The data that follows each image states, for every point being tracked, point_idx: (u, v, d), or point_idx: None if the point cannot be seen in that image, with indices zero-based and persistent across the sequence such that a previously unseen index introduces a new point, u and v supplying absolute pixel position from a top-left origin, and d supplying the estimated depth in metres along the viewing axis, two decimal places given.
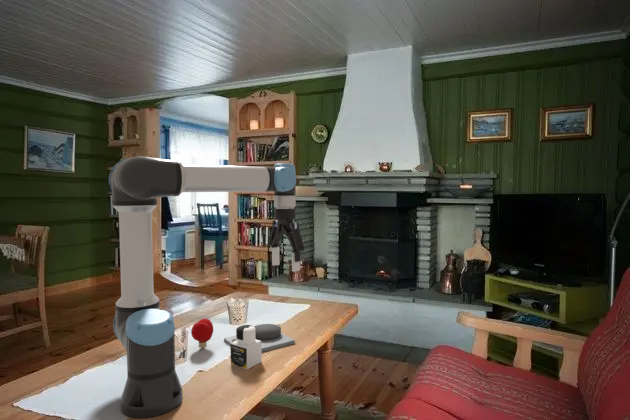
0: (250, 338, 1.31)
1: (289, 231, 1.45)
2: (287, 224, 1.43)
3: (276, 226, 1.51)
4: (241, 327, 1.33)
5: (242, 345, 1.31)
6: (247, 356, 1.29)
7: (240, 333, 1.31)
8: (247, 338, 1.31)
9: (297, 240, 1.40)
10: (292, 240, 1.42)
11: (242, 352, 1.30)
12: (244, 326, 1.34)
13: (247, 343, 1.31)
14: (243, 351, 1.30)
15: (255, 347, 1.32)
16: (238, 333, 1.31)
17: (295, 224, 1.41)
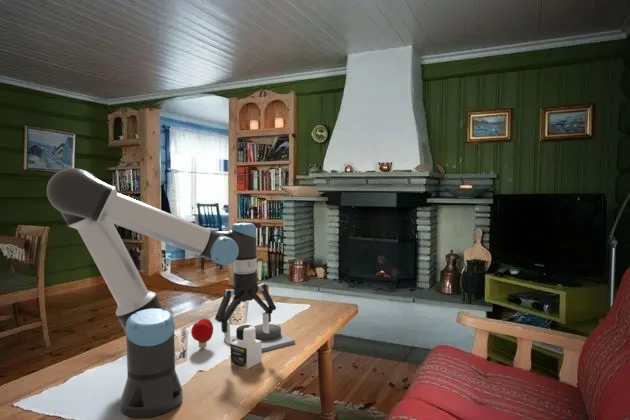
0: (250, 338, 1.31)
1: (237, 298, 1.32)
2: None
3: (260, 290, 1.37)
4: (241, 327, 1.33)
5: (242, 345, 1.31)
6: (247, 356, 1.29)
7: (240, 333, 1.31)
8: (247, 338, 1.31)
9: (219, 309, 1.29)
10: (228, 308, 1.31)
11: (242, 351, 1.30)
12: (244, 326, 1.34)
13: (247, 343, 1.31)
14: (244, 351, 1.30)
15: (255, 347, 1.32)
16: (238, 333, 1.31)
17: (225, 291, 1.29)
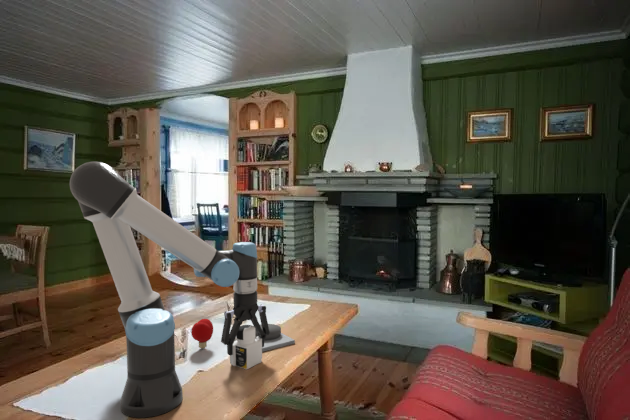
0: (250, 338, 1.31)
1: None
2: None
3: None
4: (241, 327, 1.33)
5: (242, 345, 1.31)
6: (246, 356, 1.29)
7: (240, 333, 1.31)
8: (247, 338, 1.31)
9: (223, 331, 1.30)
10: (231, 329, 1.32)
11: (242, 351, 1.30)
12: (244, 326, 1.34)
13: (247, 343, 1.31)
14: (243, 351, 1.30)
15: (255, 347, 1.32)
16: (238, 333, 1.31)
17: (225, 314, 1.29)
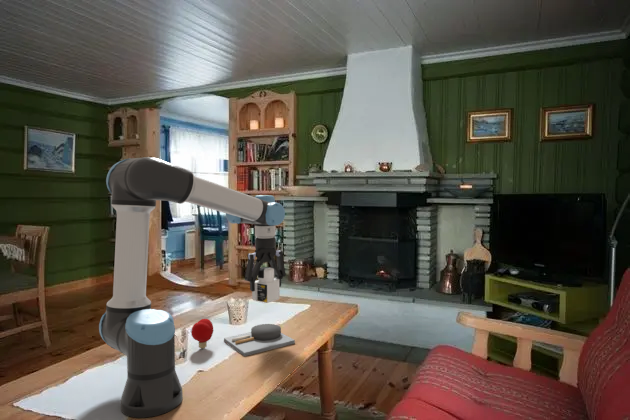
0: (270, 276, 1.53)
1: None
2: None
3: (276, 255, 1.58)
4: (262, 268, 1.54)
5: (263, 282, 1.52)
6: (267, 291, 1.51)
7: (261, 272, 1.52)
8: (267, 276, 1.52)
9: (246, 270, 1.51)
10: (253, 270, 1.53)
11: (263, 288, 1.51)
12: (264, 267, 1.55)
13: (267, 281, 1.52)
14: (264, 287, 1.51)
15: (274, 284, 1.54)
16: (259, 272, 1.53)
17: (248, 255, 1.51)
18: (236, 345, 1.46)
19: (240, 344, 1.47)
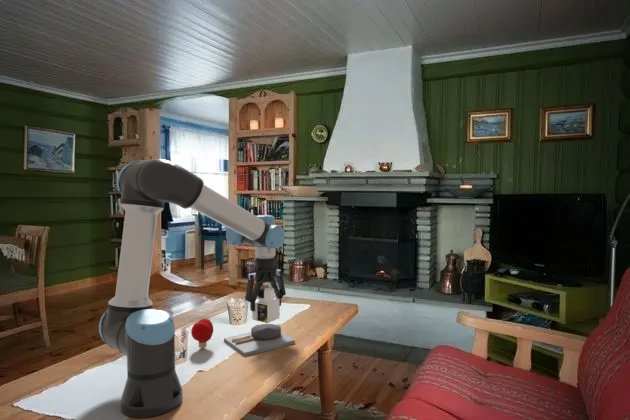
0: (270, 296, 1.53)
1: None
2: None
3: (276, 274, 1.59)
4: (262, 288, 1.55)
5: (263, 302, 1.52)
6: (267, 311, 1.51)
7: (261, 292, 1.53)
8: (267, 296, 1.53)
9: (247, 291, 1.52)
10: (254, 289, 1.53)
11: (263, 308, 1.52)
12: (264, 287, 1.56)
13: (267, 301, 1.53)
14: (264, 307, 1.51)
15: (274, 304, 1.54)
16: (259, 292, 1.53)
17: (249, 276, 1.51)
18: (236, 345, 1.46)
19: (240, 344, 1.47)
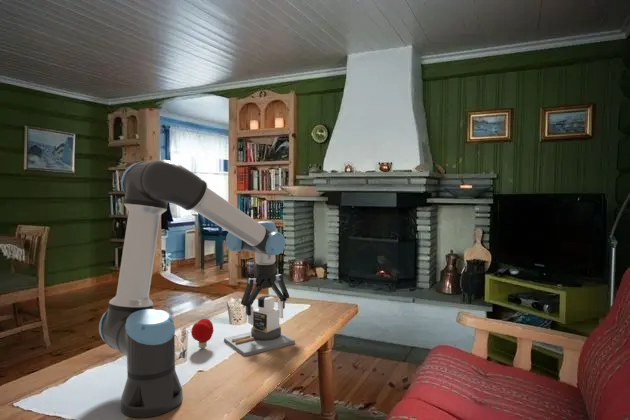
0: (270, 306, 1.53)
1: (259, 285, 1.54)
2: None
3: (277, 279, 1.59)
4: (262, 297, 1.55)
5: (263, 312, 1.53)
6: (267, 321, 1.51)
7: (261, 302, 1.53)
8: (267, 306, 1.53)
9: (244, 295, 1.51)
10: (251, 294, 1.53)
11: (263, 317, 1.52)
12: (265, 296, 1.56)
13: (267, 310, 1.53)
14: (264, 316, 1.52)
15: (274, 314, 1.54)
16: (259, 302, 1.54)
17: (249, 280, 1.51)
18: (236, 345, 1.46)
19: (240, 344, 1.47)
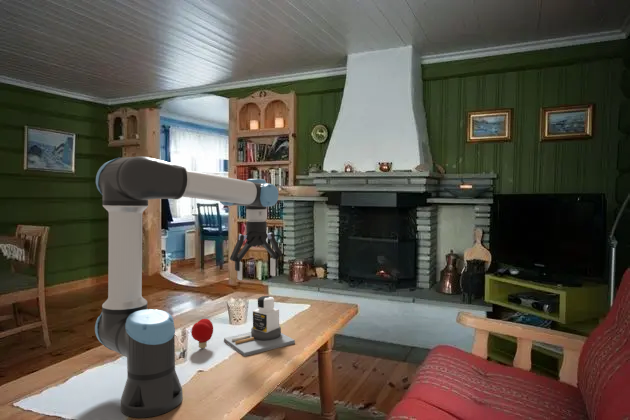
0: (270, 306, 1.53)
1: None
2: None
3: None
4: (262, 297, 1.55)
5: (263, 312, 1.53)
6: (266, 321, 1.51)
7: (261, 302, 1.53)
8: (267, 306, 1.53)
9: (233, 250, 1.51)
10: (241, 250, 1.53)
11: (263, 317, 1.52)
12: (264, 296, 1.56)
13: (267, 310, 1.53)
14: (264, 317, 1.52)
15: (274, 314, 1.54)
16: (259, 302, 1.54)
17: (239, 236, 1.51)
18: (236, 345, 1.46)
19: (240, 344, 1.47)
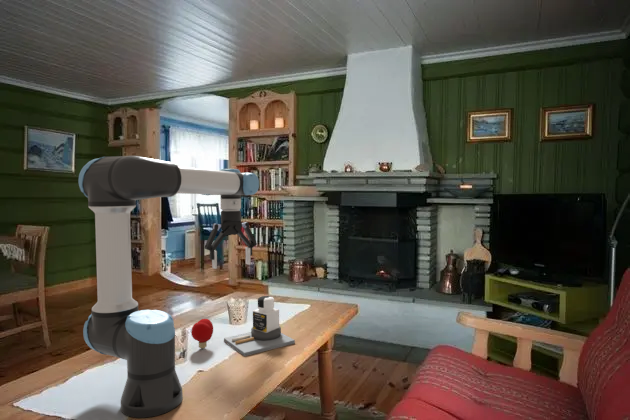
0: (270, 306, 1.53)
1: (224, 232, 1.56)
2: None
3: (243, 227, 1.61)
4: (262, 297, 1.55)
5: (263, 312, 1.53)
6: (266, 321, 1.51)
7: (261, 302, 1.53)
8: (267, 306, 1.53)
9: (208, 239, 1.53)
10: (216, 239, 1.55)
11: (263, 317, 1.52)
12: (264, 296, 1.56)
13: (267, 310, 1.53)
14: (264, 317, 1.52)
15: (274, 314, 1.54)
16: (259, 302, 1.54)
17: (213, 225, 1.53)
18: (236, 345, 1.46)
19: (240, 344, 1.47)
